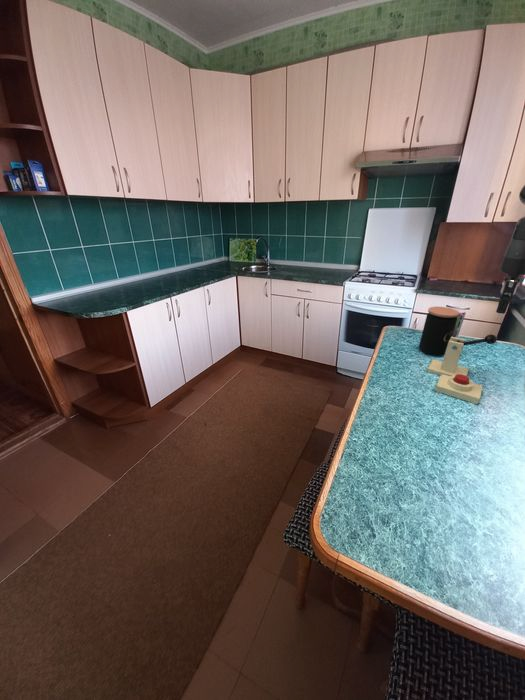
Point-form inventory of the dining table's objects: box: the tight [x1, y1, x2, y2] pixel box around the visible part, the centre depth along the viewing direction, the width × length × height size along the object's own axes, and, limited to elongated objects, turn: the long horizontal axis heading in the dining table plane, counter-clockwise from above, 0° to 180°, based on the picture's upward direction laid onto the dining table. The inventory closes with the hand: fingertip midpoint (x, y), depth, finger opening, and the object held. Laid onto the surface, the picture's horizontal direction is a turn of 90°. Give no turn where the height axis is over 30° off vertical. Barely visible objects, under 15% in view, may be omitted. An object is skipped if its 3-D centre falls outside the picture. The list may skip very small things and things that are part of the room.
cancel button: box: [454, 374, 471, 385], centre depth 95 cm, size 4×4×2 cm
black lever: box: [454, 333, 498, 347], centre depth 99 cm, size 13×3×3 cm, turn 50°
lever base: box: [426, 337, 470, 377], centre depth 105 cm, size 12×9×13 cm
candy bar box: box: [436, 305, 467, 338], centre depth 123 cm, size 11×5×16 cm, turn 45°
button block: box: [434, 374, 484, 405], centre depth 96 cm, size 12×9×4 cm
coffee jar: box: [418, 306, 459, 357], centre depth 118 cm, size 11×11×18 cm
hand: (501, 309), depth 91 cm, fingers open, 8 cm apart
